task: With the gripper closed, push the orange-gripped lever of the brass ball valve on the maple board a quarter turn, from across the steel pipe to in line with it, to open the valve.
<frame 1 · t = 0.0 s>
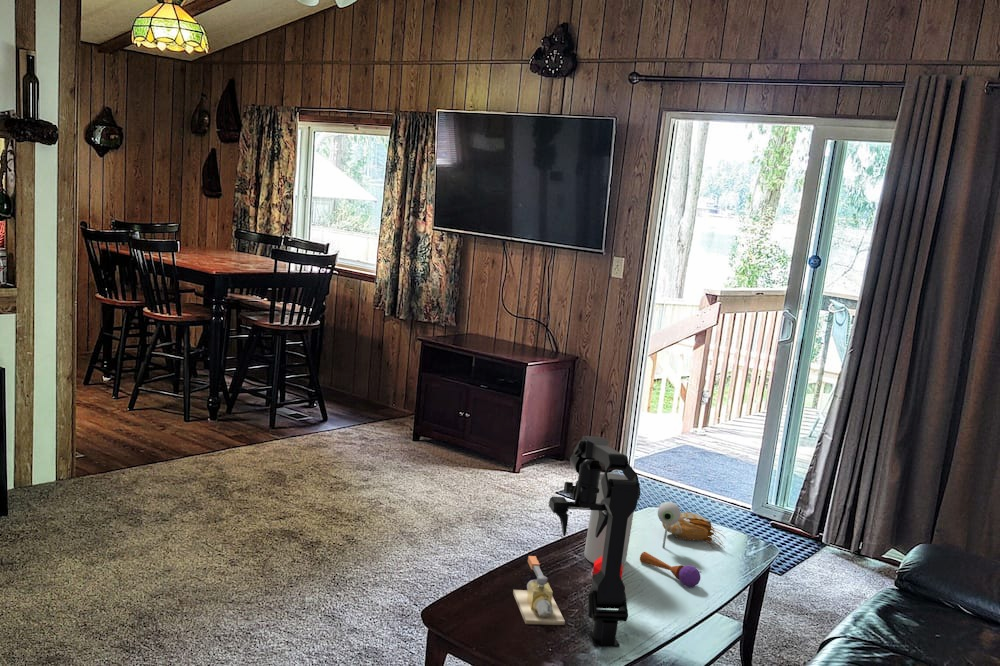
hand: (580, 536, 234), 15 cm above the table, fingers open, 9 cm apart
valve board: (537, 608, 221), on the table
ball: (605, 585, 240), on the table
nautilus: (692, 541, 282), on the table
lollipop: (663, 547, 273), on the table
valve lever: (537, 570, 225), point 8 cm above the table, hinge at 0.0°
cylinder vase: (604, 560, 258), on the table
valve: (537, 608, 221), resting on valve board
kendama: (668, 576, 252), on the table
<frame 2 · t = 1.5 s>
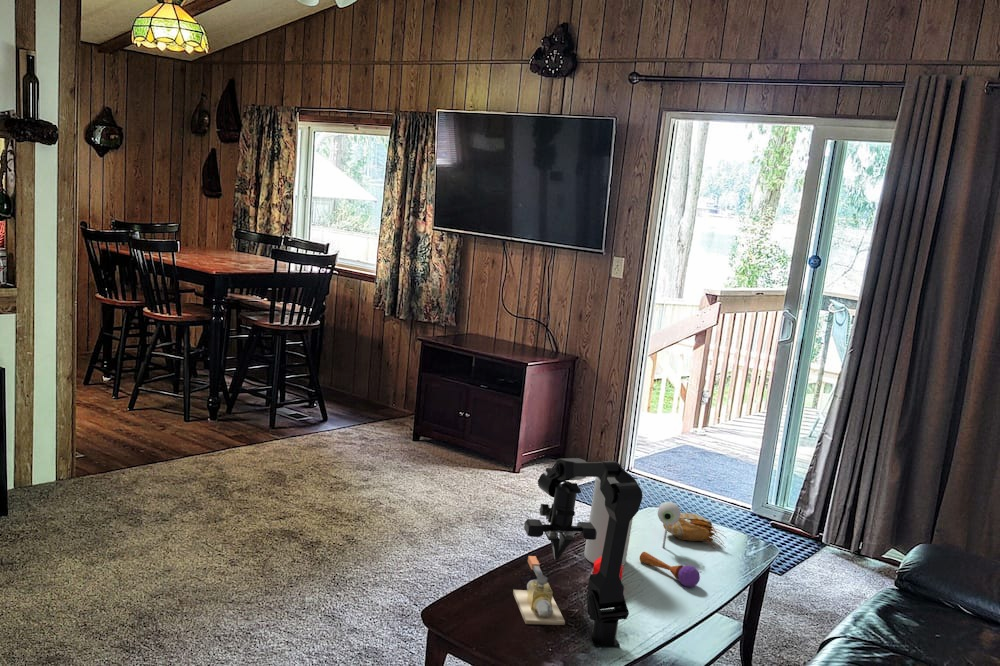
hand: (556, 559, 231), 9 cm above the table, fingers closed
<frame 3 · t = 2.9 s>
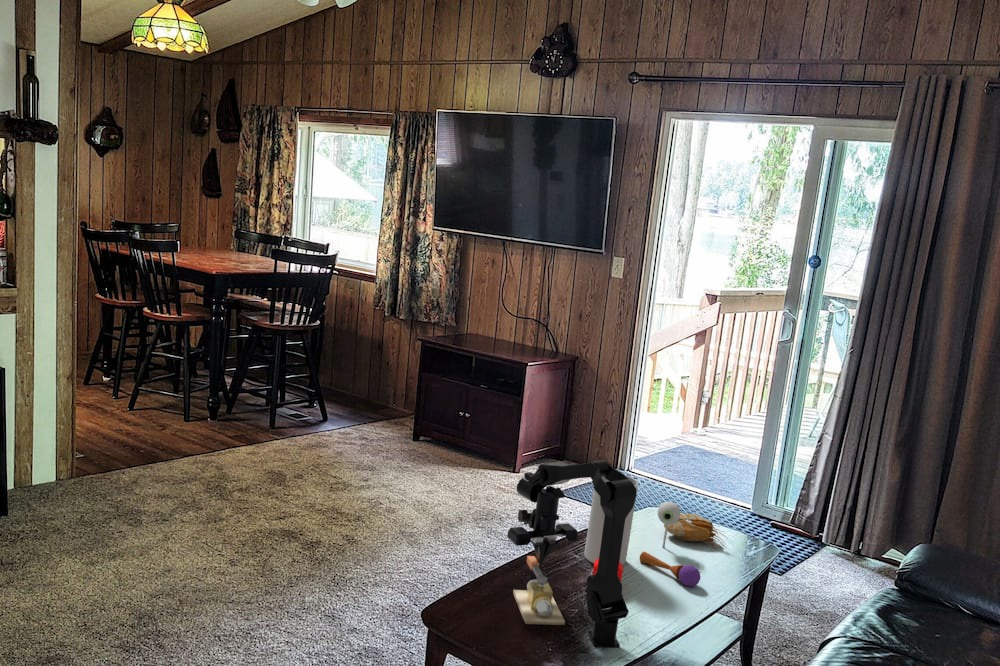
hand: (539, 564, 230), 8 cm above the table, fingers closed
valve lever: (536, 570, 225), point 8 cm above the table, hinge at 1.5°, touching gripper
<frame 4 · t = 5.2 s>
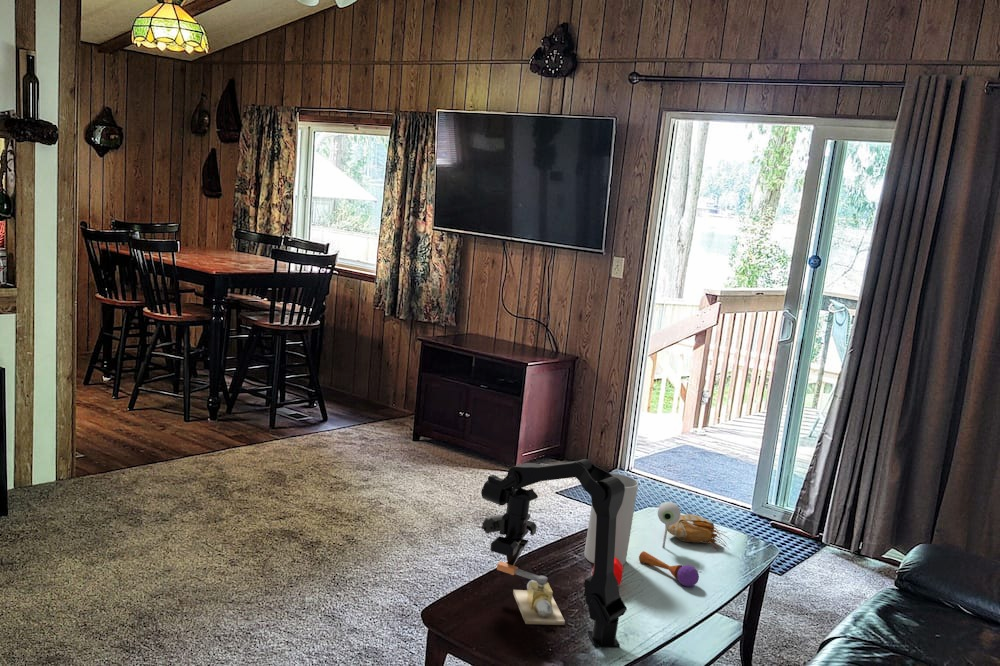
hand: (510, 567, 226), 8 cm above the table, fingers closed
valve lever: (522, 573, 222), point 8 cm above the table, hinge at 52.9°, touching gripper
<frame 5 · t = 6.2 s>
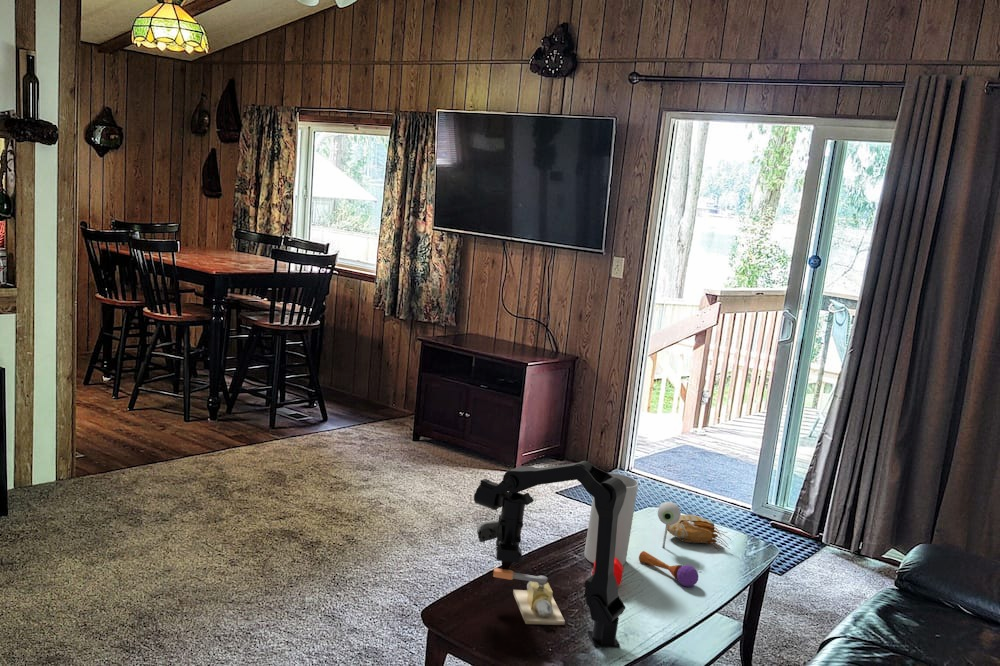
hand: (504, 571, 222), 8 cm above the table, fingers closed
valve lever: (520, 576, 220), point 8 cm above the table, hinge at 74.6°, touching gripper
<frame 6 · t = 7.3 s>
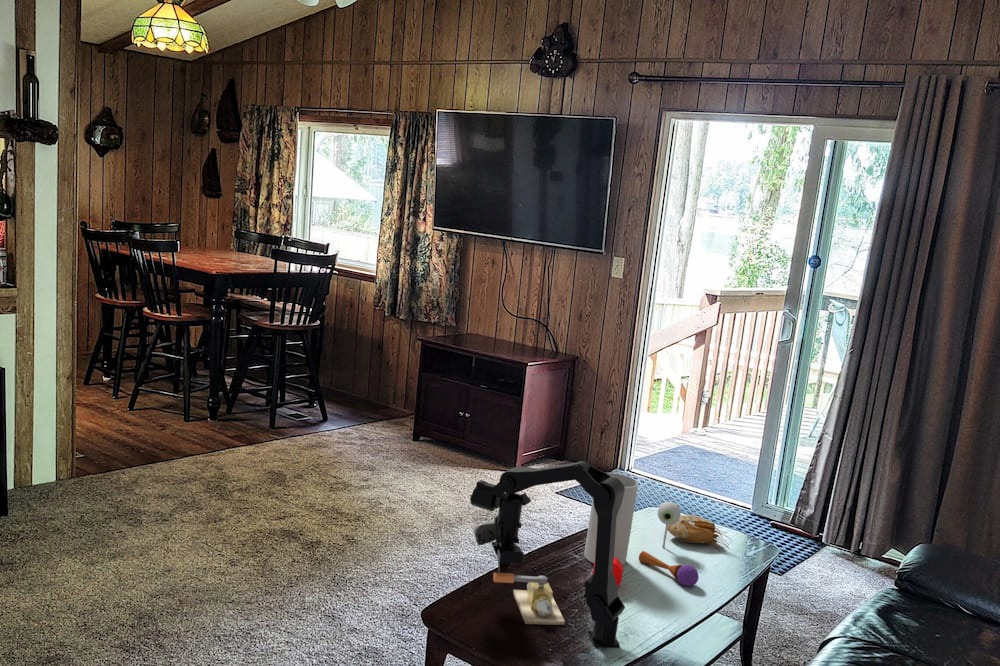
hand: (501, 573, 221), 8 cm above the table, fingers closed
valve lever: (520, 578, 219), point 8 cm above the table, hinge at 87.5°
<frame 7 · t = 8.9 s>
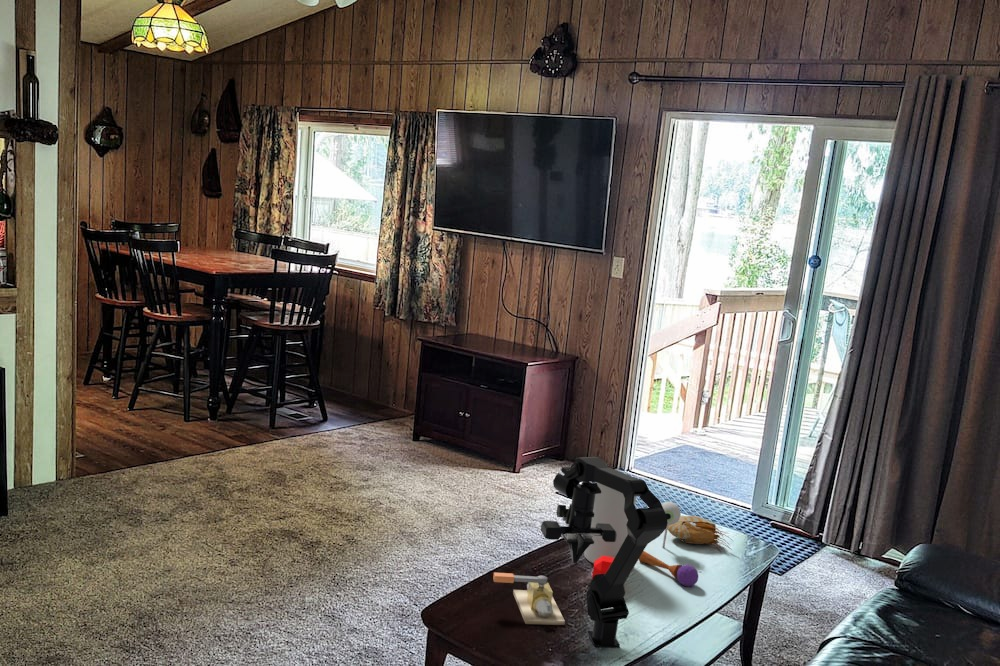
hand: (574, 562, 221), 13 cm above the table, fingers closed
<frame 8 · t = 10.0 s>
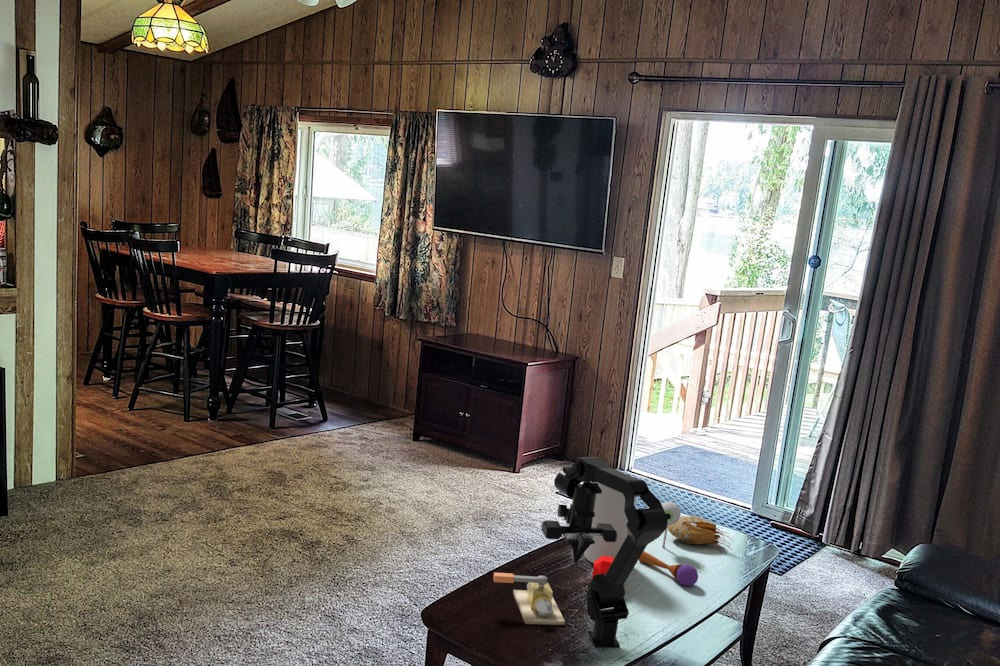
hand: (574, 562, 221), 13 cm above the table, fingers closed
at the end: valve lever at +88° (first picture: +0°) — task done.
